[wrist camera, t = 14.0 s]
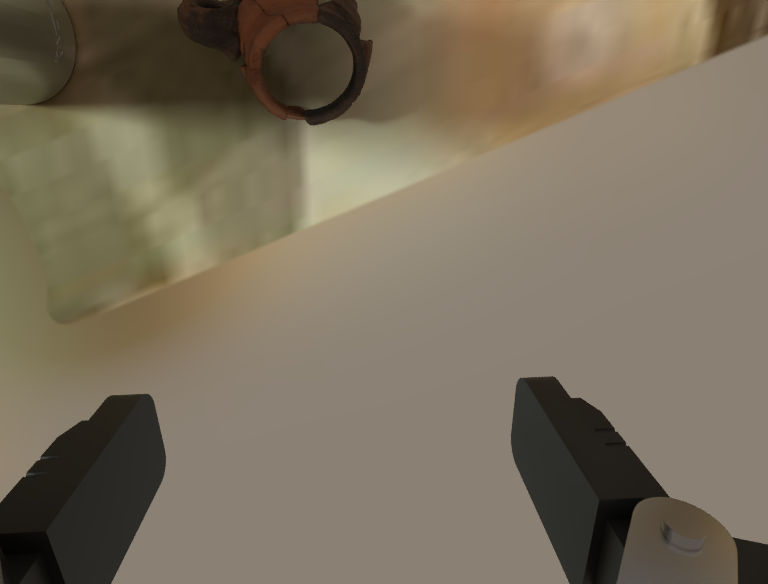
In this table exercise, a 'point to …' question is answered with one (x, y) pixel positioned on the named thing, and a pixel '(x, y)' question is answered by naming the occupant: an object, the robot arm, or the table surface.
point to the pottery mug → (257, 29)
